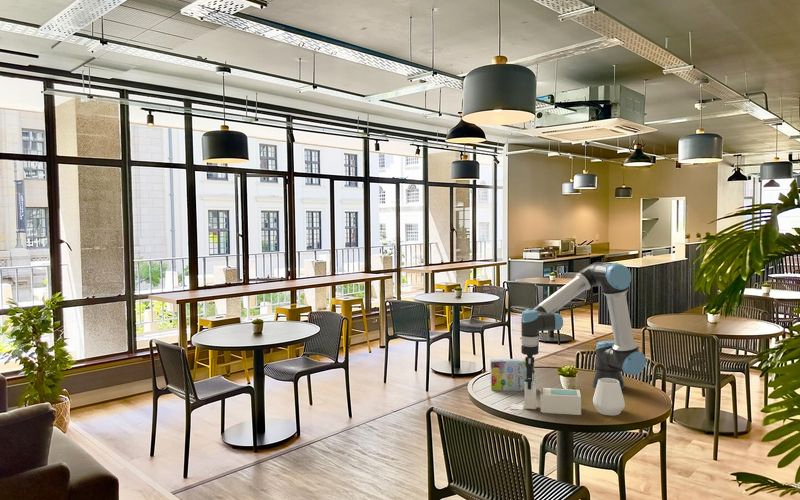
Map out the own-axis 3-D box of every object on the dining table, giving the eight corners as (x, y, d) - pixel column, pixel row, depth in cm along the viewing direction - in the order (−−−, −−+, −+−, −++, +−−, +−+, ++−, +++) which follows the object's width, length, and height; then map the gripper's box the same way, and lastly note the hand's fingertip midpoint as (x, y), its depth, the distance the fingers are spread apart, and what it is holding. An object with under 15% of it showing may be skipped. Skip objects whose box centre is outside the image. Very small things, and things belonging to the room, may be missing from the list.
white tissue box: (579, 407, 251) (579, 389, 250) (581, 415, 241) (581, 396, 241) (540, 405, 255) (540, 387, 255) (540, 412, 245) (540, 394, 245)
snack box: (532, 387, 281) (532, 358, 280) (534, 391, 276) (534, 361, 275) (490, 387, 283) (490, 358, 282) (491, 390, 278) (490, 361, 277)
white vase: (631, 415, 240) (632, 383, 239) (605, 418, 236) (605, 386, 235) (611, 405, 253) (611, 375, 252) (586, 408, 249) (586, 378, 248)
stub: (536, 405, 253) (536, 381, 252) (536, 409, 249) (535, 384, 248) (524, 405, 254) (524, 381, 254) (524, 408, 250) (524, 383, 249)
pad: (523, 405, 256) (523, 404, 256) (522, 410, 249) (522, 409, 249) (511, 404, 257) (511, 403, 257) (510, 409, 250) (510, 408, 250)
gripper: (522, 338, 263) (522, 383, 264) (520, 350, 239) (520, 399, 240) (538, 339, 261) (538, 384, 262) (538, 351, 237) (538, 400, 238)
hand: (529, 391), depth 251 cm, fingers open, 13 cm apart
